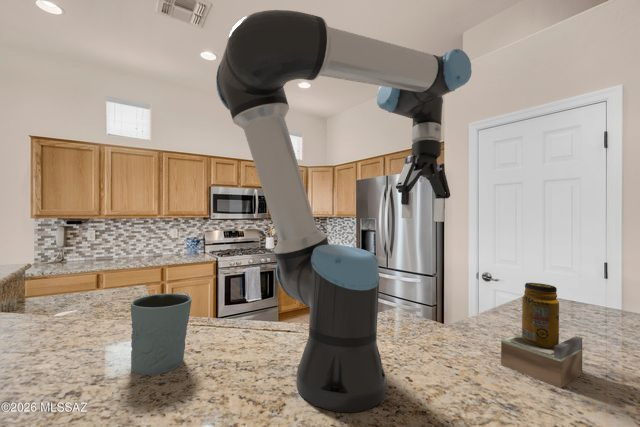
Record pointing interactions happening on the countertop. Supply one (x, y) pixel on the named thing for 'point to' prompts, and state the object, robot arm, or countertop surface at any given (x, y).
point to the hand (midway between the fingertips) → (423, 220)
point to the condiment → (539, 318)
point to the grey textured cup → (159, 332)
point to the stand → (545, 361)
